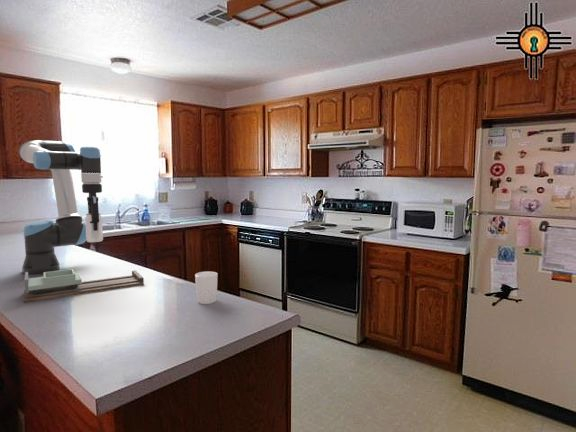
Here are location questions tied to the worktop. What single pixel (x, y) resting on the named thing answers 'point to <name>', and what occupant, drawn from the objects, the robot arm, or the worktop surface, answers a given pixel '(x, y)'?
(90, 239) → the can
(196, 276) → the white cup
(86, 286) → the track
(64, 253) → the worktop surface
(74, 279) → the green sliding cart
